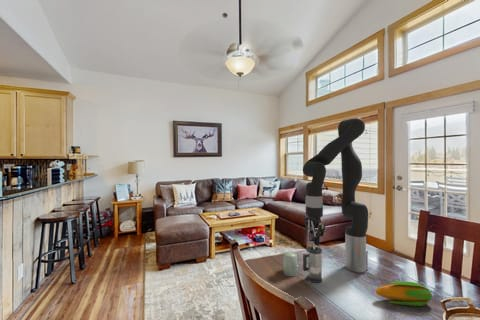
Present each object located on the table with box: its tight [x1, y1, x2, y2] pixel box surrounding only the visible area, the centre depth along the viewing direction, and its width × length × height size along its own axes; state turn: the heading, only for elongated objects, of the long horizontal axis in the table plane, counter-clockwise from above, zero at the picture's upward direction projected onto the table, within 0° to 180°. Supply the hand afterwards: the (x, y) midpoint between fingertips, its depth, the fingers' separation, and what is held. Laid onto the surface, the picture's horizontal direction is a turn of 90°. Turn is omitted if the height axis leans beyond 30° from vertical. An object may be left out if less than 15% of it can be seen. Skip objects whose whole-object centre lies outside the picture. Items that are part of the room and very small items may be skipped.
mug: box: [283, 251, 298, 277], centre depth 108 cm, size 6×8×9 cm
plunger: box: [310, 232, 317, 250], centre depth 101 cm, size 4×4×14 cm
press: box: [302, 245, 323, 285], centre depth 101 cm, size 9×7×14 cm
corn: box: [375, 280, 433, 307], centre depth 85 cm, size 7×8×20 cm
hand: (314, 242), depth 101 cm, fingers closed on plunger, 3 cm apart
